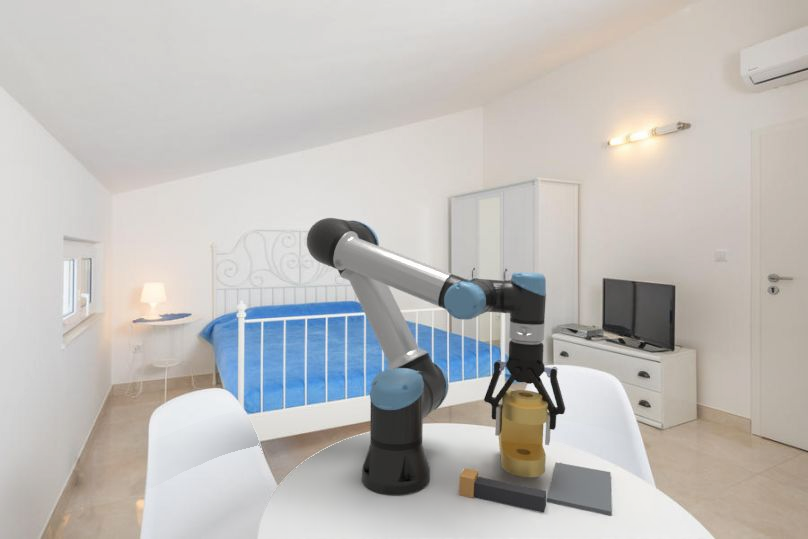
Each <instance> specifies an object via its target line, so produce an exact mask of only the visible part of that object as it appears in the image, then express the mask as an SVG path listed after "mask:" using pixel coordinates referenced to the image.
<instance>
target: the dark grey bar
mask: <svg viewBox="0 0 808 539" xmlns="http://www.w3.org/2000/svg"><path fill="white" fill-rule="evenodd" d="M458 486H459V487H458V488H459V490H458V491H459V492H458V493H459V494H458V496H461V497H466V498H470V499H474V498H475V499H476V498H477V499H480V500H484V501H489V502H494V503H498V504H499V503H500V504H503V505H507V506H511V507H515V508H521V509H525V510H529V511H534V512H539V513H542V514H543V513H545V510H546V507H547V490H545V489H539V488H535V487H531V486H526V485H521V484H516V483H510V482H505V481H501V480H496V479H493V478H487V477H483V476H482V477H481V476H479V470H475V469H471V468H463V470H462V472H461V473H460V474H459V484H458Z"/></svg>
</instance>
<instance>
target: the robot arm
mask: <svg viewBox="0 0 808 539" xmlns="http://www.w3.org/2000/svg"><path fill="white" fill-rule="evenodd" d="M306 247H307V251H308V253H309V254H310V255H311V257H312V258H313V259H315V261H317V262H319V263H321V264H323V265H326V266H328V267H331V268H333V269H336V270H337V271H338V274H339V276H340V277H341V278H342V279H345V280H348V281H349V284H350V285H351V287H352V290H353V291H354V293H355V296H356V298H357V300H358V302H359V304H360V306H361V308H362V310H363V312H364V314H365V317H366V318H367V321H368V322H369V324H370V327H371V329H372V331H373V333H374V335H375V337H376V339H377V342H378V344H379V346H380V347H381V351H382V352H383V354H384V356H385V358H386V360H387V362H388V366H387V369H385V370H382V371H381V372H379V373H377V374H376V375H375V376H374V377H373V378H372V381H371V385H370V386H371V388H370V392H369V399H370V416H369V417H370V428H369V429H370V442H369V446H368V450H367V453H366V456H365V460H364V462H363V464H362V469H361V472H362V473H361V480H362V483H363V485H364V486H365V487H366V488H367V489H369V490H371V491H374V492H376V493H378V494H383V495H388V496H389V495H390V496H391V495H392V496H400V495H401V496H402V495H409V494H413V493H416V492H419V491H421V490H423V489H425V488H426V486H429V483H430V482H431V481H430V480H431V477H430V476H431V475H430V474H431V472H430V471H431V470H430V469H431V468H430V464H429V462H428V458H427V455H426V452H425V449H424V446H423V427H424V426H423V425H424V424H423V422H424V421H423V420H424V419H425V418H426V417H427V416H429V415H430V414H431V413H432V412H433V411H435V410H437V409H438V408H439V407H440V406H441V405H442V403H443V402H444V401H445V400H446V397H447V395H448V392H449V380H448V379H449V378H448V376H447V373H446V371H445V370H444V369H443V367H442V366H440V365H439V364H437V363H436V362H433V360H432V358H431V356H430V353H429V352H428V351H427V350H424V349H422V348H420V347H419V345H418V344H417V341H416V340H415V337H414V336H413V333H412V331H411V328H409V325H408V323H407V321H406V320H405V317H404V314H403V313H402V311H401V309H400V307H399V305H398V303H397V301H396V299H395V297H394V295H393V293H392V291H391V289H390V287H391V288H393V289H396V290H398V291H401V292H403V293H406V294H408V295H411V296H413V297H415V298H418V299H420V300H422V301H425V302H428V303H430V304H432V305H434V306H438V307H440V308H442V309H444V310H446V311H447V312H448V314H449V315H450V316H451V317H453V318H454V319H457V320H461V321H462V320H466V321H467V320H472V319H474V318H477V317H478V316H481V315H482V314H485V313H501V314H509V317H510V318H509V321H510V322H509V335H508V336H509V339H511V340H510V341H509V343H508V359H507V361H501V360H500V359H498V360H496V361H495V362H494V363H493V374H492V376H491V379H490V381H489V383H488V384H489V385H488V387H487V389H486V393H485V395H484V398H483V400H484V403H488V404H490V405H491V419H492V420H495V433H494V434H495V436H497V437H499V434H500V433H501V420H502V404H501V403H500V402H501V399H502V397H503V395H504V394H505V393H506V392H507V390H509V388H511V386H512V385H513V383H514V382H516V383H526V384H530V385H532V384H533V386H534V388H535V389H536V391H537V393H539V394H541V395H542V400H543V401H546V402H547V403H548V412H547V422H545V436H544V437H545V438H544V443H545V444H544V445H545V446H549V445H550V442H551V431H552V430H553V431H554V430H555V429H556V426H557V416H558V415H564V414H565V411H566V407H565V406H566V405H565V402H564V398H563V395H562V391H561V388H560V384H559V381H558V368H557V366H553V367H549V366H545V364H544V346H545V345H544V343H543V341H544V339H545V316H546V301H547V300H546V299H547V293H546V291H547V290H546V284H547V283H546V279H547V278H546V277H545V275H544V274H543V273H538V272H523V271H522V272H518V271H517V272H516V271H515V272H513V273H512V274H511V277H510V279H509V280H500V279H487V278H486V279H485V278H477V277H475V278H464V277H461V276H459V275H455V274H453V273H450V272H448V271H446V270H443V269H440V268H437V267H435V266H433V265H430V264H427V263H424V262H422V261H419V260H417V259H414V258H412V257H408V256H406V255H403V254H402V253H398V252H395V251H394V250H390V249H387V248H385V247H382V246H380V242H379V237H378V235H377V232H375V230H374V229H373V228H372V227H370V226H369V225H368V224H366V223H363V222H361V221H359V220H358V221H357V220H354V219H353V220H348V219H347V220H346V219H341V218H334V217H327V218H323V219H319V220H318V221H317V222H315V223H314V224H313V225H312V226H311V227H310V229H309V231H308V233H307V236H306ZM505 368H506V369H507V370H508V371H507V372H509V374H510V376H509V377H508V379H507V380H506V382H505V383H504V385H503V386H502V387H501V389H500V390H499V392H498V393H497V394H496V396H495V397H493V395H494V393H495V389H496V386H497V384H498V381H499V378H500V375H501V373H502V372H503V371H504V369H505ZM544 373H545V374H546V377H548V378H549V380H550V385H551V389H552V393H553V396H554V400H555V403H556V404H554V401H553V400H552V399H551V397H550V395H549V393H548V391H547V389H546V386H544V383H543V381H542V379H541V376H542V375H543V374H544Z"/></svg>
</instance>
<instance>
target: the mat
mask: <svg viewBox="0 0 808 539" xmlns="http://www.w3.org/2000/svg"><path fill="white" fill-rule="evenodd" d="M552 471H553V472H552V475H551V476H552V477H551V479H550V484H549V488H548V490H547V494H546V503H550V504H551V503H552V504H554V505H555V504H556V505H561V506H564V507H570V508H575V509H579V510H582V511H587V512H593V513H596V514H602V515H607V516H612V483H611V482H612V481H611V480H612V478H611V477H612V476H611V471H605V470H601V469H595V468H589V467H585V466H578V465H574V464H573V465H572V464H569V463H568V464H567V463H562V462H557V461H555V464H554V468H553V470H552Z"/></svg>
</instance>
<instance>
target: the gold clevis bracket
mask: <svg viewBox="0 0 808 539" xmlns="http://www.w3.org/2000/svg"><path fill="white" fill-rule="evenodd" d="M500 402H501V403H500V404H502V420H501V433H500V434H499V436H498V445H499V446H498V447H499V453H500V464H501V467H502V469H503V470H504V471H505V472H507V473H510V474H512V475H514V476H519V477H523V478H537V477H540V476H542V475H543V474H545V472H546V458H547V457H546V452H545V449H544V446H543V443H544V442H543V441H544V424H546V422H547V412H549V411H548V403H547V402H546V401H543V400H542V395H541V394H539V392H535V391H531V390H527V389H517V390H509V389H508V390H507V392H506V393H505V394H504V395H503V397H502V399H501V400H500Z"/></svg>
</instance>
